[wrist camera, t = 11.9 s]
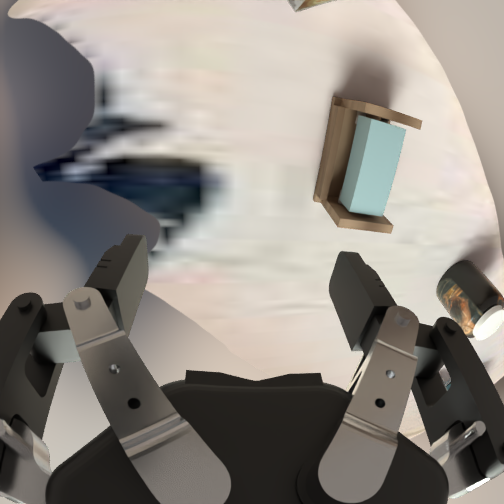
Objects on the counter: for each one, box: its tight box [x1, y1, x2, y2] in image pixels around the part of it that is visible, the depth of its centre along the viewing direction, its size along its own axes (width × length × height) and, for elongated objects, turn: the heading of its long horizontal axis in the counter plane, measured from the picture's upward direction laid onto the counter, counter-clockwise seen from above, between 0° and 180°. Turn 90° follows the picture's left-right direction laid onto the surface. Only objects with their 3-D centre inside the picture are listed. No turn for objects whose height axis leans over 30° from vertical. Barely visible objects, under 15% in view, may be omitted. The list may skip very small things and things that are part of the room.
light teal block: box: [339, 115, 406, 217], centre depth 34 cm, size 5×12×4 cm, turn 172°
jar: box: [436, 260, 504, 340], centre depth 48 cm, size 12×12×15 cm
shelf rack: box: [313, 97, 422, 234], centre depth 36 cm, size 9×16×9 cm, turn 173°
